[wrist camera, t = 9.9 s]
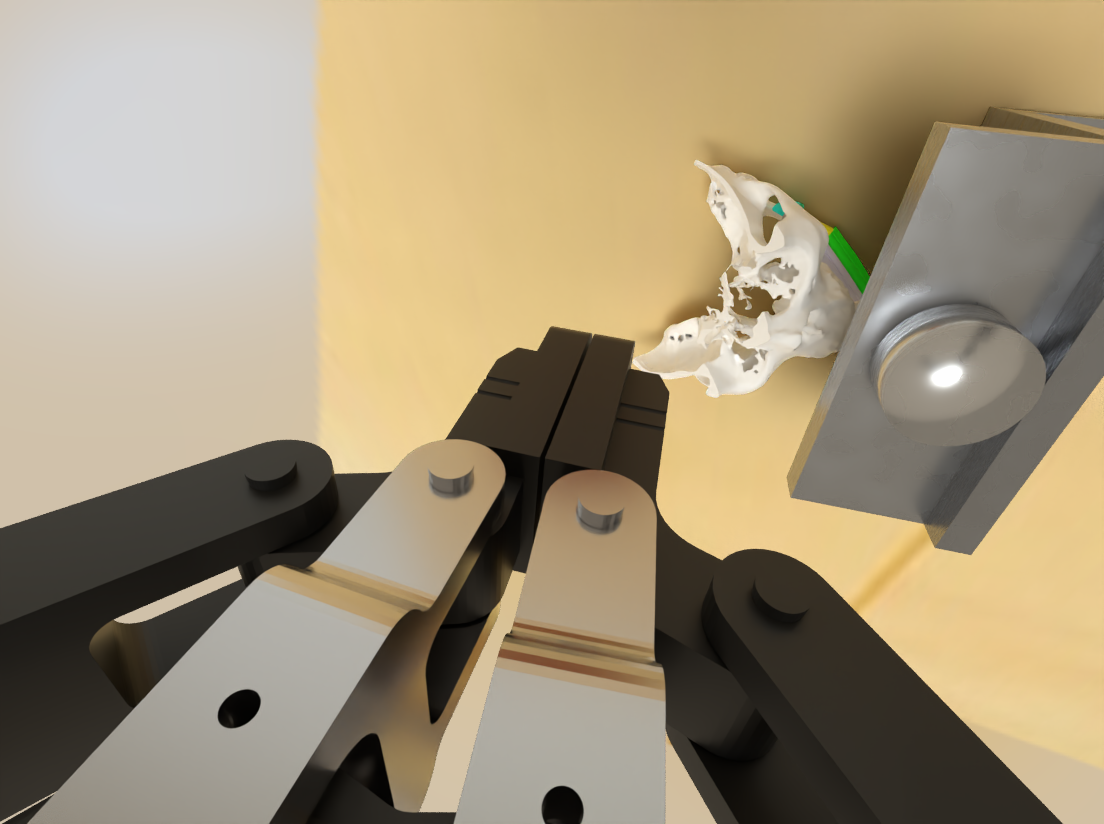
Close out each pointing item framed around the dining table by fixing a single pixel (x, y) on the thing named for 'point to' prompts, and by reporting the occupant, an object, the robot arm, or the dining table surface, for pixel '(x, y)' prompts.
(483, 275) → the dining table surface
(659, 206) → the dining table surface
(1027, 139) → the bracket
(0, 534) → the robot arm
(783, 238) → the white irregular lump
